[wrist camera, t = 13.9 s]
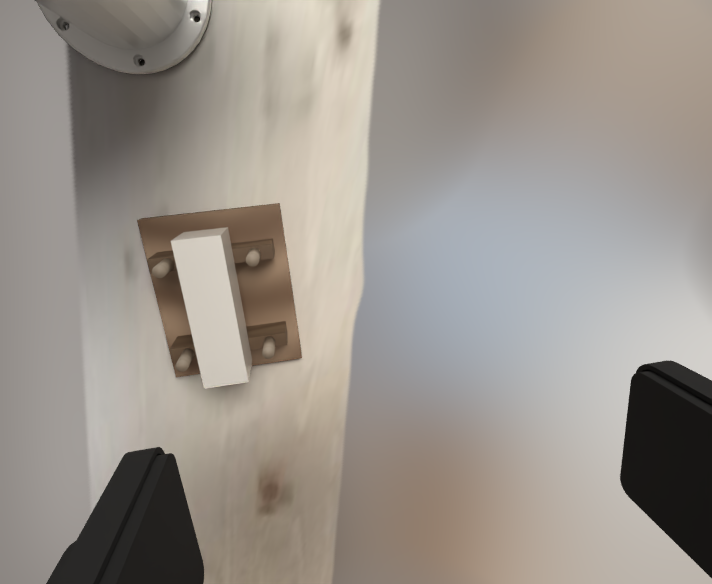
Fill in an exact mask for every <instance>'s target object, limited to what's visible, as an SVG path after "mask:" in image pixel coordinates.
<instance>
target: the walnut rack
mask: <svg viewBox="0 0 712 584" xmlns="http://www.w3.org/2000/svg"><path fill="white" fill-rule="evenodd" d="M137 221H138V225H139V229H140V233H141V238H142V242H143V246H144V250H145V254H146V258H147V262H148V267H149V271H150V274H151V278H152V282H153V286H154V290H155V294H156V298H157V302H158V306H159V310H160V314H161V318H162V322H163V326H164V330H165V334H166V338H167V342H168V346H169V351H170V355H171V359H172V362H173V366H174V370H175V374H176V377H181V376H187V375H194V374H200V369H199V364H198V360H197V356H196V351H195V347H194V342H193V338H192V333H191V329H190V324H189V320H188V316H187V311H186V307H185V302H184V298H183V293H182V289H181V285H180V280H179V276H178V271H177V267H176V262H175V258H174V253H173V249H172V245H171V240H173V239H174V238H176V237H177V236H179V235H180V234H182V233H183V232H190V231H199V230H207V229H216V228H225V227H228V230H229V236H230V241H231V247H232V252H233V257H234V263H235V268H236V274H237V279H238V285H239V290H240V296H241V301H242V307H243V312H244V318H245V323H246V329H247V334H248V340H249V345H250V351H251V356H252V365H251V366H253V365H259V364H266V363H273V362H279V361H286V360H292V359H299V358H302V355H301V347H300V340H299V333H298V326H297V320H296V313H295V306H294V299H293V292H292V285H291V279H290V272H289V265H288V258H287V251H286V244H285V238H284V231H283V224H282V217H281V210H280V203H278V204H269V205H259V206H250V207H241V208H232V209H223V210H214V211H205V212H196V213H187V214H178V215H169V216H160V217H150V218H142V219H139V220H137Z"/></svg>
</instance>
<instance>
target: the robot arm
mask: <svg viewBox="0 0 712 584" xmlns="http://www.w3.org/2000/svg"><path fill="white" fill-rule="evenodd" d="M35 1H37V3H38V5H39V7H40V8H41V10H42V12H43V14H44V16H45V17H46V19H47V21H48V22H49V23H50V24H51V26H52V27H53V28H54V30H55V31H56V32H57V33H58V35H59V36H61V38H63V39H64V40H65V41H66V42H67V43H68V44H69V45H70V46H71V47H72V48H73V49H75V50H76V51H78V52H79V53H80V54H82V55H83V56H85V57H86V58H88V59H89V60H91V61H93V62H95V63H97V64H99V65H101V66H104V67H107V68H109V69H112V70H115V71H118V72H124V73H129V74H151V73H155V72H159V71H164V70H166V69H168V68H170V67H172V66H174V65H176V64H178V63H179V62H181V61H182V60H183V59H184V58H186V57H187V56H188V55H189V54H190V53H191V52H192V51H193V50H194V48H195V47H196V46H197V45H198V43H199V42H200V40H201V38H202V36H203V34H204V32H205V30H206V28H207V24H208V21H209V17H210V13H211V3H212V0H35ZM196 16H198V17H200V21H199V22H195V21H194V18H195V17H196ZM67 24H69V28H68V30H66V25H67ZM141 60H144V61H145V64H144V66H141V65H140V61H141ZM620 475H621V476H620V480H621V484H622V487H623V489H624V491H625V493H626V494H627V495H628V496H629V498H630V499H632V501H634V502H635V503H636V504H637V505H638V506H639V507H640V508H641V509H642V510H643V511H644V512H645V513H646V514H647V515H648V516H649V517H650V518H651V519H652V520H653V521H654V522H655V523H656V524H657V525H658V526H659V527H660V528H661V529H662V530H663V531H664V532H665V533H666V534H667V535H668V536H669V537H670V538H671V539H672V540H673V541H674V542H675V543H676V544H677V545H678V546H679V547H680V548H681V549H682V550H683V551H684V552H686V553H687V554H688V556H690V557H691V558H692V559H693V560H694V561H695V562H696V563H697V564H698V565H699V566H700V567H701V568H702V569H703V570H704V571H705V572H706V573H707V574H708V575H709V576H710V577H711V578H712V381H711V380H709V379H708V378H706V377H703V376H702V375H700V374H698V373H696V372H694V371H692V370H690V369H688V368H686V367H684V366H682V365H680V364H678V363H676V362H674V361H662V362H656V363H651V364H644V365H642V366H640V367H639V368H638V369H637V371H636V374H634V375H633V377H632V379H631V386H630V395H629V403H628V413H627V421H626V431H625V439H624V448H623V457H622V466H621V474H620ZM203 582H204V566H203V560H202V557H201V553H200V549H199V545H198V542H197V538H196V534H195V530H194V527H193V523H192V519H191V515H190V512H189V508H188V504H187V500H186V497H185V493H184V489H183V485H182V482H181V478H180V474H179V470H178V467H177V463H176V459H175V457H174V455H173V454H172V453H169V454H165V453H164V451H163V450H162V448H160V447H157V448H151V449H145V450H139V451H133V452H128V453H126V454H125V455H124V456H123V458H122V460H121V461H120V463H119V465H118V467H117V469H116V470H115V472H114V474H113V476H112V478H111V479H110V481H109V483H108V485H107V487H106V488H105V490H104V492H103V494H102V496H101V497H100V499H99V501H98V503H97V505H96V506H95V508H94V510H93V512H92V514H91V515H90V517H89V519H88V521H87V523H86V524H85V526H84V528H83V530H82V532H81V534H80V535H79V537H78V539H77V541H75V542H74V543H72V544H71V545H70V546H69V547H68V548H67V550H66V551H65V552H64V554H63V555H62V557H61V559H60V561H59V563H58V564H57V566H56V568H55V569H54V571H53V573H52V575H51V576H50V578H49V580H48V582H47V583H46V584H203Z"/></svg>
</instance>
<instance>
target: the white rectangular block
mask: <svg viewBox="0 0 712 584" xmlns="http://www.w3.org/2000/svg"><path fill="white" fill-rule="evenodd" d="M171 245H172V249H173V253H174V258H175V262H176V267H177V271H178V276H179V280H180V285H181V289H182V293H183V298H184V302H185V307H186V311H187V316H188V320H189V324H190V329H191V333H192V338H193V342H194V347H195V351H196V356H197V360H198V364H199V369H200V373H201V378H202V382H203V387H204V389H207V388H213V387H220V386H226V385H233V384H239V383H246V382H249V376H250V370H251V365H252V356H251V351H250V345H249V340H248V334H247V329H246V323H245V318H244V312H243V307H242V301H241V296H240V290H239V285H238V279H237V274H236V268H235V263H234V257H233V252H232V247H231V241H230V236H229V230H228V227H225V228H216V229H207V230H199V231H190V232H183V233H182V234H180V235H179V236H177V237H176V238H174V239H173V240H171Z"/></svg>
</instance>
